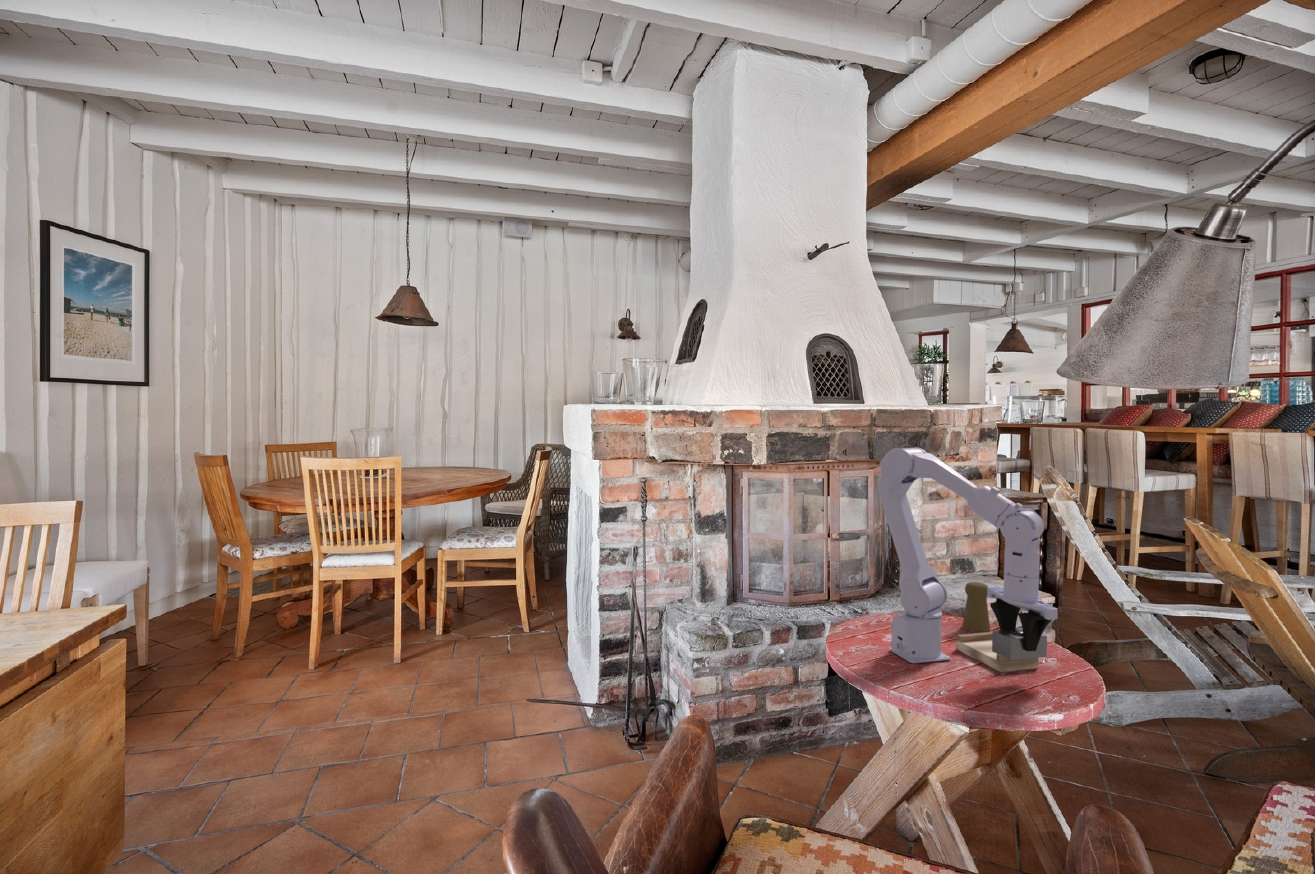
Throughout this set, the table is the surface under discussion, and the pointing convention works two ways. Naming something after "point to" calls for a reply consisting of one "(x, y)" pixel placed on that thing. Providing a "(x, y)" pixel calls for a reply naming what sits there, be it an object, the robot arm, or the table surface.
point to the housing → (1016, 645)
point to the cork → (976, 608)
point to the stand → (990, 653)
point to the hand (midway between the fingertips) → (1019, 645)
